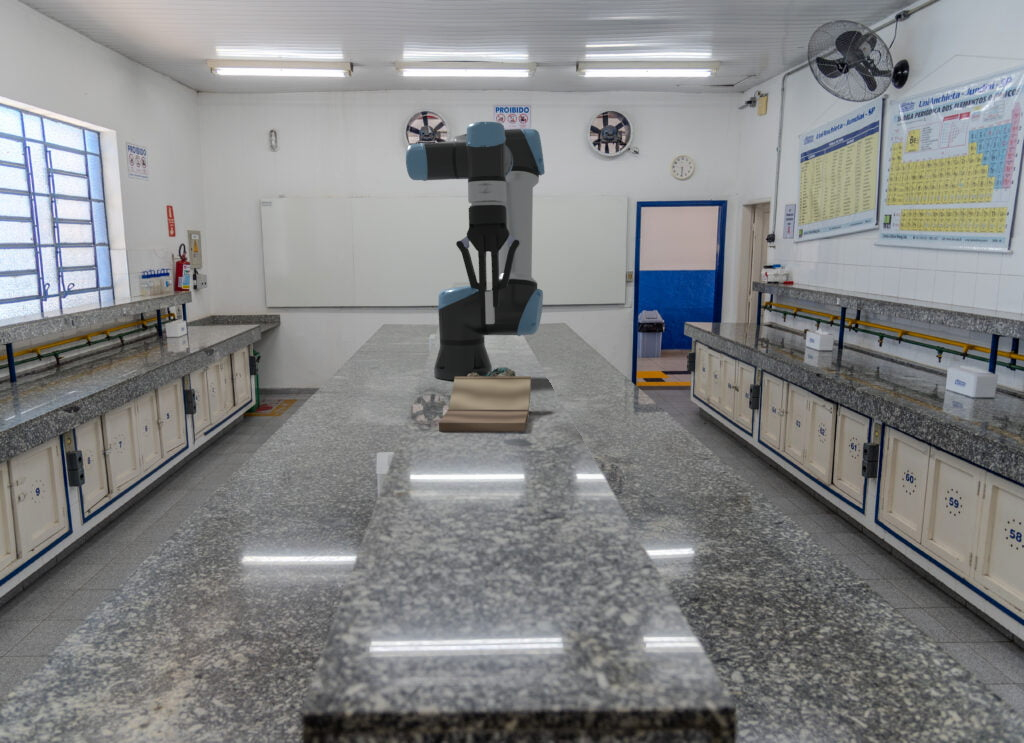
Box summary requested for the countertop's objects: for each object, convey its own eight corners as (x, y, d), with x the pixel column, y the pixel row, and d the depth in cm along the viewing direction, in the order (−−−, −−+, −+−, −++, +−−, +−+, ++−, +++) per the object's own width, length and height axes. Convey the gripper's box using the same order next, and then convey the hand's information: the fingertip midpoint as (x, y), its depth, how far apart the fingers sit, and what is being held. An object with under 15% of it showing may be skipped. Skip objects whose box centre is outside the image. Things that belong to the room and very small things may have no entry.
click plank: (455, 381, 149) (454, 376, 148) (531, 381, 147) (530, 376, 146) (449, 414, 141) (448, 409, 140) (528, 415, 140) (528, 409, 139)
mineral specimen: (520, 387, 164) (508, 355, 163) (523, 391, 155) (509, 358, 154) (472, 406, 164) (459, 375, 163) (471, 412, 155) (457, 379, 154)
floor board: (448, 417, 140) (448, 409, 140) (528, 417, 139) (528, 409, 138) (439, 431, 130) (438, 422, 130) (524, 431, 129) (524, 422, 129)
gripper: (451, 204, 136) (455, 325, 140) (518, 202, 135) (520, 325, 139) (457, 206, 143) (461, 321, 147) (521, 204, 142) (523, 320, 146)
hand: (490, 323), depth 143 cm, fingers closed
